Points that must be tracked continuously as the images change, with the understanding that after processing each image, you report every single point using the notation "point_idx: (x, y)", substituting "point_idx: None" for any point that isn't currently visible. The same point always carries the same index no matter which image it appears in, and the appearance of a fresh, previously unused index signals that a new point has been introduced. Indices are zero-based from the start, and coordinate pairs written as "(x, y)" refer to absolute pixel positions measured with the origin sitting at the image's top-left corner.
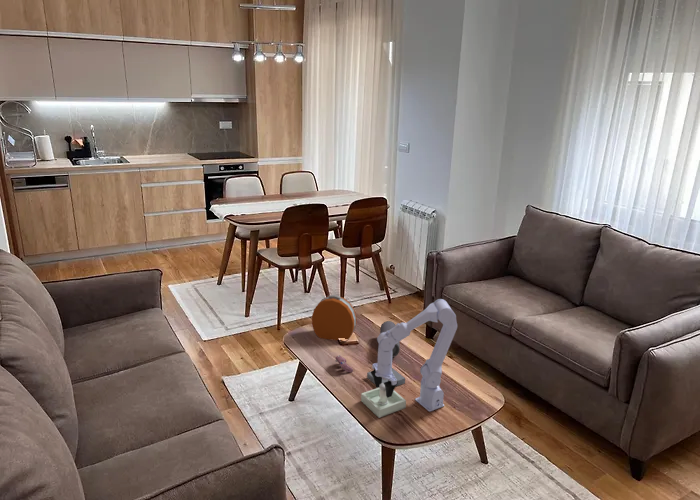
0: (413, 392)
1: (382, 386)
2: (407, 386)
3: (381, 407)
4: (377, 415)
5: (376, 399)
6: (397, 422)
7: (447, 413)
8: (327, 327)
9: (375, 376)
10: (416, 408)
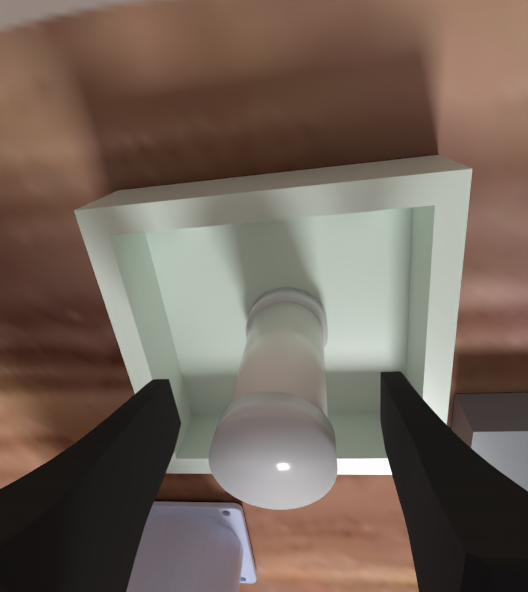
0: (318, 530)
1: (259, 445)
2: (397, 538)
3: (230, 278)
4: (134, 190)
5: (358, 296)
6: (36, 297)
7: None
8: None
9: (438, 528)
10: None
